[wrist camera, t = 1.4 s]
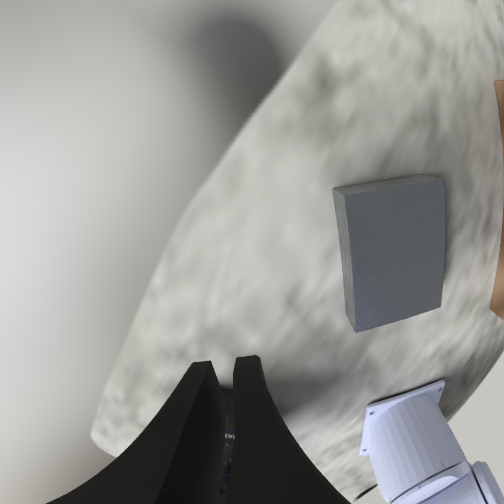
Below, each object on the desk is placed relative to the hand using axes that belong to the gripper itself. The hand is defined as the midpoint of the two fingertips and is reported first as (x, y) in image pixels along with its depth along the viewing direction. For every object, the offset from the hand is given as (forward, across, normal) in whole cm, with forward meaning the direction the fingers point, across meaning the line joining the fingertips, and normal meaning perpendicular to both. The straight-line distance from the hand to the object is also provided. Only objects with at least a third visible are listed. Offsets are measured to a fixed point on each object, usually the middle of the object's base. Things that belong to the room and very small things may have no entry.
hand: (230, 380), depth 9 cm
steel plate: (+9, -9, 0) cm, 13 cm away
